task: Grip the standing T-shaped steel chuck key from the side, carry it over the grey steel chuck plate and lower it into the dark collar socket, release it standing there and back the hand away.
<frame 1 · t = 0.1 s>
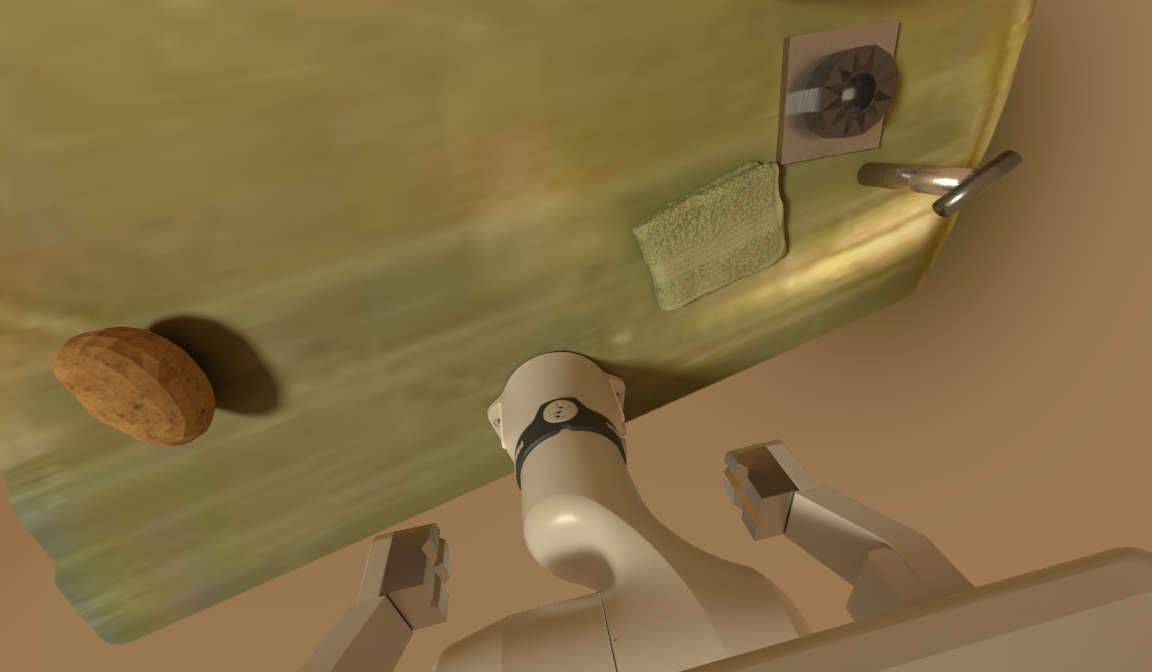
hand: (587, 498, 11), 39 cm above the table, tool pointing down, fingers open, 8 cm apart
potato: (177, 365, 47), on the table
chuck key: (867, 173, 50), on the table
chuck socket: (831, 96, 45), on the table
washcloth: (707, 236, 51), on the table
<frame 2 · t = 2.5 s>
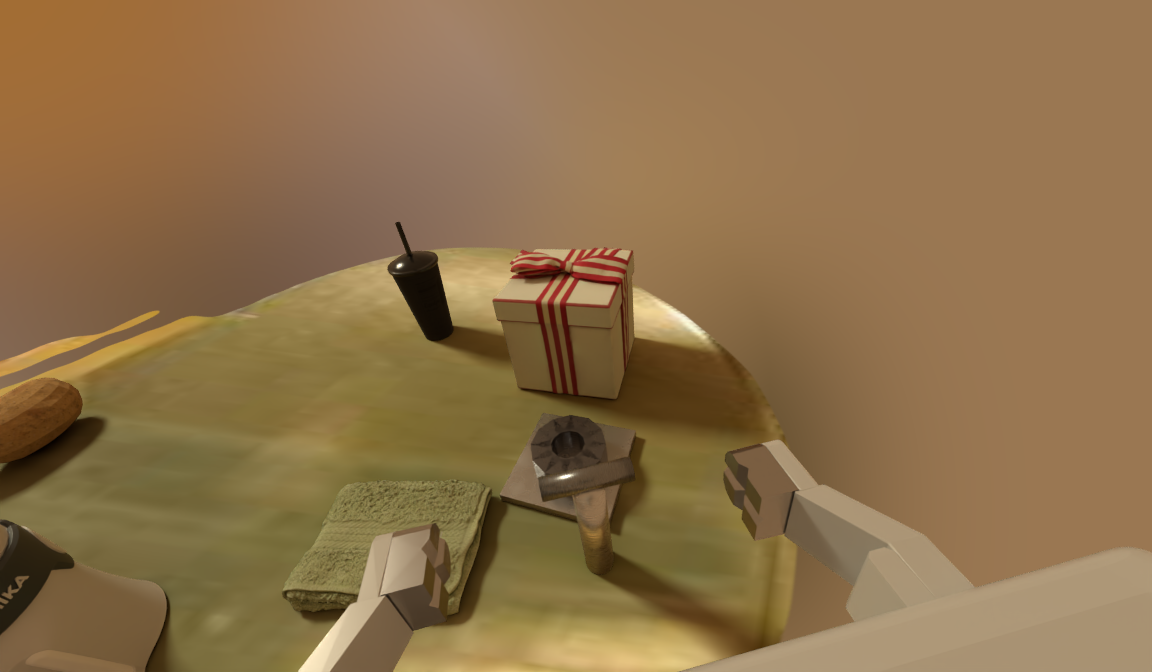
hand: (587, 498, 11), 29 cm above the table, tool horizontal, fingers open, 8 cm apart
potato: (46, 443, 61), on the table
gift box: (577, 356, 63), on the table
chuck key: (599, 560, 39), on the table
chuck socket: (572, 466, 47), on the table
drinking cup: (439, 333, 73), on the table
washcloth: (402, 546, 43), on the table
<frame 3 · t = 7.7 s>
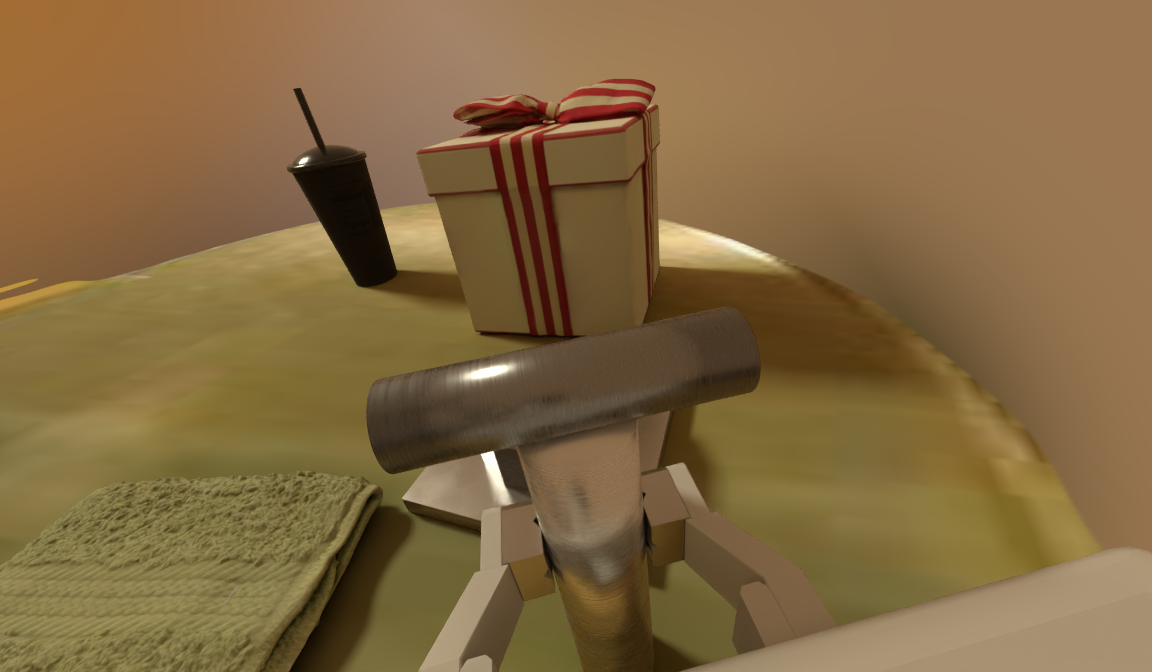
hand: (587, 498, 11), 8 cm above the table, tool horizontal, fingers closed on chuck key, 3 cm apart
gift box: (572, 292, 41), on the table
chuck key: (617, 658, 15), on the table, touching gripper
chuck socket: (557, 444, 24), on the table
drinking cup: (377, 279, 51), on the table
washcloth: (168, 620, 19), on the table
when the fingers open (10 cm above the table, at t = 11.7 s): chuck key stays where it is, resting on chuck socket.
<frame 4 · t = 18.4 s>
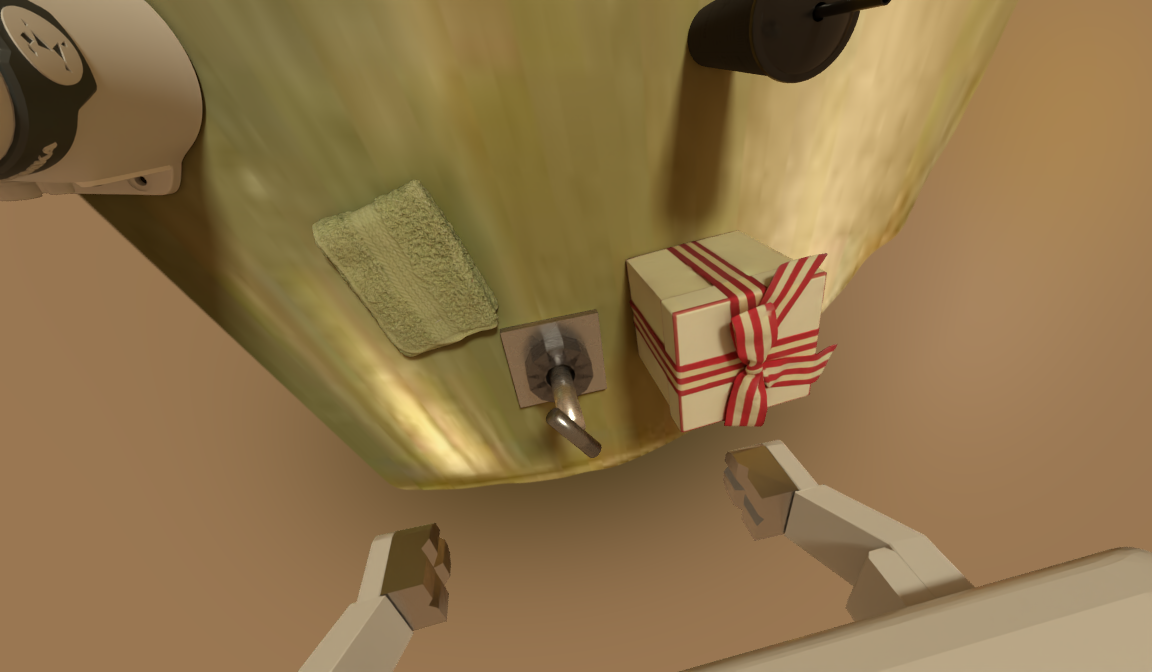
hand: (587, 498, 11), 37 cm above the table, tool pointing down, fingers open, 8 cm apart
gift box: (695, 287, 53), on the table
chuck key: (557, 363, 53), point 1 cm above the table, touching chuck socket
chuck socket: (556, 358, 54), on the table
drinking cup: (711, 35, 39), on the table
washcloth: (417, 272, 46), on the table
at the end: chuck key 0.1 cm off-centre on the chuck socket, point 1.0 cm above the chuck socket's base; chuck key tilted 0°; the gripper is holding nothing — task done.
